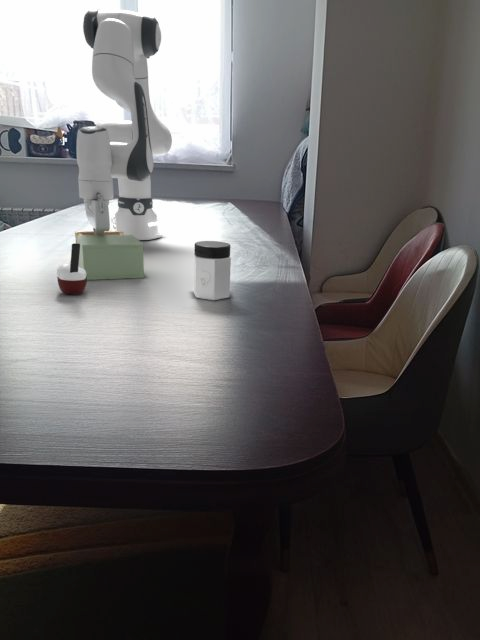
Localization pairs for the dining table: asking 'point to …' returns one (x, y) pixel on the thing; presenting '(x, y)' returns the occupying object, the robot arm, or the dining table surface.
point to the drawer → (93, 233)
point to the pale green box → (111, 256)
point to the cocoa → (72, 274)
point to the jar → (212, 270)
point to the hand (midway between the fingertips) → (99, 242)
